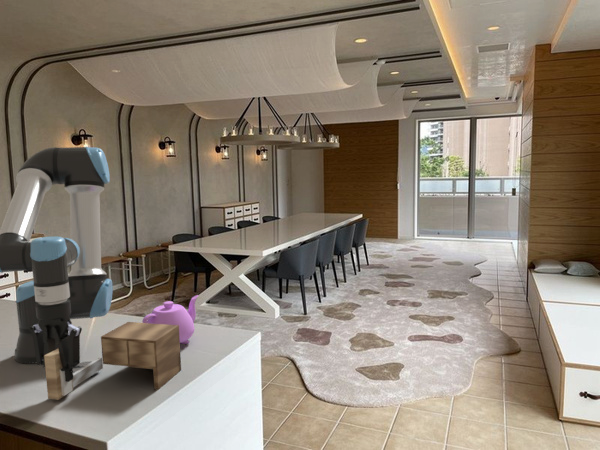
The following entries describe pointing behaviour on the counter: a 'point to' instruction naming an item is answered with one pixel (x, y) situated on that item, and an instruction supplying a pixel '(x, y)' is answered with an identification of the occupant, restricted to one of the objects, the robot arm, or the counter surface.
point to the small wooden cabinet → (144, 349)
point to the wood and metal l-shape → (53, 373)
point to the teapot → (175, 318)
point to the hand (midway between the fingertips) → (60, 392)
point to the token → (81, 366)
